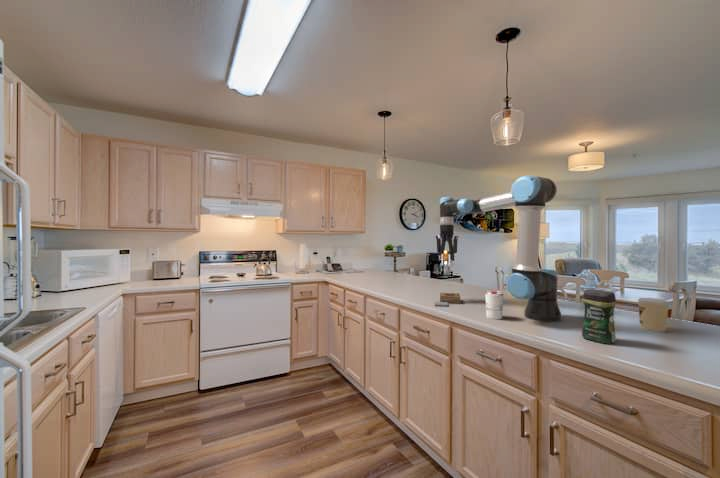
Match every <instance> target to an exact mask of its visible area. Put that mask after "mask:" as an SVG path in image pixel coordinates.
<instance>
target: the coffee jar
mask: <svg viewBox="0 0 720 478" xmlns="http://www.w3.org/2000/svg"><path fill="white" fill-rule="evenodd" d="M616 300H617V299H616V294H615V292H612V291H606V290H601V289H592V288H591V289H586V290H584V291H583V296H582V302H583V305H584V314H583V315H584V316H583V324H582V332H581V336H582V338H583V339H586V340H588V339H589V341H592V342H595V341H596V342H597V343H600V342H601V344H605V343H606V344H610V343H611V344H614V343H615V342H616V328H615V316H614V313H615V307H616V304H617V301H616ZM613 342H614V343H613Z"/></svg>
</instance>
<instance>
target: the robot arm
mask: <svg viewBox="0 0 720 478" xmlns="http://www.w3.org/2000/svg"><path fill="white" fill-rule="evenodd" d="M557 191H558V188H557V185H556V183H555V182H554V181H553V180H552V179H551V178H547V177H541V176H536V175H524V176H521V177H518V178H517V179H516V180H515V181H514V182H513V183H512V185H511V189H510V191H508V192H504V193H500V194H496V195H492V196H488V197H484V198H479V199H475V200H474V199H470V198H461V199H454V197H453V196H446V197H445V196H444V197H441V198H440V199H439V224H440V225H439V231H440V232H439V234H438V235H436V236H435V239H436V252H437V253H439V254H440V257H439V259H440V260H441V266H444V260H443V251H445V248H446V243H448V244H447V245H448V249H449V250H448V251H450V253H449V266H450V267H451V266H453V261H454V260H455V259H454V257H455V256H454V255H455V254H457V253H458V239H459V235H456V234H455V233H454V231H455V230H454V229H455V227H454V216H455V215H454V214H473V215H481V214H482V215H483V214H485V213H486V212H487V213H488V212H491V211H496V210H502V209H506V208H512V207H514V208H516V209H517V210H518V222H517V242H516V259H515V260H516V261H515V264H514V265H513V266H512V268H511V274H510V275H509V276H508V277H507V278H506V284H505V285H506V289H507V291H508V292H509V293H510V295H511V296H512V297H514V298H515V299H518V300H527V303H526V306H525V308H524V313H523V314H524V317H525V318H528V319H530V320H535V321H541V322H560V321H562V319H563V318H562V316H563V315H562V311H561V310H560V306H559V304H558V273H557V272H558V271H556V270H555V269H549V268H540V266H539V249H540V236H541V235H540V234H541V233H540V232H541V216H542V213H541V211H542V210H544V209H545V208H546V204H547V203H549V202H551V201H552V200H553V199H554V198H555V196H556V194H557Z"/></svg>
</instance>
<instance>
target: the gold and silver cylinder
mask: <svg viewBox="0 0 720 478" xmlns="http://www.w3.org/2000/svg"><path fill="white" fill-rule="evenodd" d="M449 253H450V250H444V251H443V260H444V265H443V276H451V266H449Z"/></svg>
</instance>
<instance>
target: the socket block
mask: <svg viewBox="0 0 720 478" xmlns="http://www.w3.org/2000/svg"><path fill="white" fill-rule="evenodd" d="M439 296H440V297H439V302H448V305H449V304H450V305H461V295H460V292H459V293H458V292H457V293H456V292H455V293H454V292H440V293H439Z"/></svg>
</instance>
